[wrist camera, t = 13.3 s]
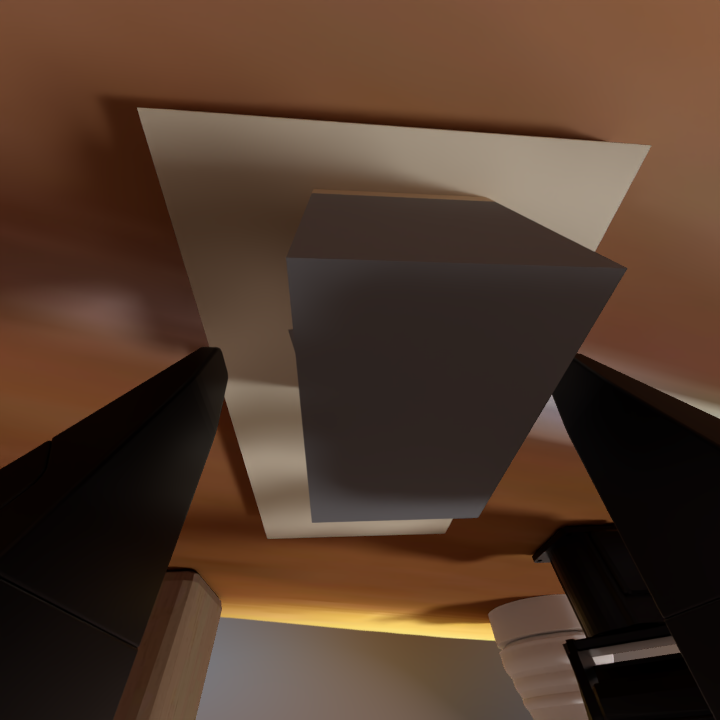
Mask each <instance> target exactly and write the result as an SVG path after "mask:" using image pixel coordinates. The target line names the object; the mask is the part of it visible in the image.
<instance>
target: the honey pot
mask: <svg viewBox="0 0 720 720" xmlns="http://www.w3.org/2000/svg"><path fill="white" fill-rule="evenodd" d="M488 617H489V620H490V623H491V627H492V630H493V633H494V637H495V640H496V644H497V647H498V648H500V649H503V650H502V651H500V656H501V658H502V663H503V666H504V668H505V670H506V672H507V673H508V674H509V676H510V677H511V678H512V680H513V682H514V685H515V688H516V690H517V691H518V692H519V694H520V695H521V697H522V699H523V704H524V706H525V708H526V709H527V710H529V712H530V713H531V715H532V717H533V719H534V720H589V719H588V716H587V713H586V709H585V706H584V703H583V699H582V696H581V693H580V689H579V686H578V683H577V680H576V677H575V674H574V671H573V669H572V666H571V664H570V661H569V659H568V656H567V654H566V652H565V649H564V647H563V645H562V644H565V643H566V640H567V639H575V640H577V639H583V638H586V636H585V634H584V632H583V630H582V628H581V626H580V624H579V621H578V619H577V617H576V615H575V613H574V611H573V609H572V607H571V605H570V602H569V600H568V598H567V596H566V594H557V595H544V596H538V597H531V598H526V599H522V600H517V601H514V602H510V603H507V604H504V605H501V606H499V607H496V608H495V609H493V610H492V611H490V612H489V614H488ZM592 658H593V660H594V662H595V664H596V665H601V664H608V663H614V656H613V654H610V655H604V656H597V657H592Z"/></svg>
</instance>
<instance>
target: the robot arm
mask: <svg viewBox="0 0 720 720" xmlns="http://www.w3.org/2000/svg"><path fill="white" fill-rule="evenodd" d="M227 382H228V371H227V368H226V364H225V360H224V357H223V353H222V351H221V349H220V348H218V347H201V348H199V349H198V350H196V351H194V352H193V353H191V354H190V355H188V356H186V357H185V358H183V359H181V360H180V361H178V362H176V363H175V364H173V365H171V366H170V367H168V368H167V369H165V370H163V371H162V372H160V373H158V374H157V375H155V376H153V377H152V378H150V379H148V380H147V381H145V382H144V383H142V384H140V385H139V386H137V387H135V388H134V389H132V390H130V391H129V392H127V393H126V394H124V395H122V396H121V397H119V398H117V399H116V400H114V401H112V402H111V403H109V404H107V405H106V406H104V407H102V408H101V409H99V410H98V411H96V412H94V413H93V414H91V415H89V416H88V417H86V418H84V419H83V420H81V421H79V422H78V423H76V424H75V425H73V426H71V427H70V428H68V429H66V430H65V431H63V432H61V433H60V434H58V435H56V436H55V437H53V438H52V441H46V442H45V443H43V444H42V445H40V446H38V447H37V448H35V449H33V450H32V451H30V452H29V453H27V454H25V455H24V456H22V457H20V458H18V459H17V460H15V461H13V462H12V463H10V464H8V465H7V466H5V467H3V468H2V469H0V720H113V719H114V716H115V713H116V710H117V708H118V705H119V702H120V699H121V696H122V694H123V691H124V688H125V685H126V683H127V680H128V677H129V674H130V672H131V669H132V666H133V663H134V660H135V658H136V655H137V652H138V647H139V645H140V643H141V640H142V637H143V635H144V632H145V629H146V626H147V624H148V621H149V618H150V615H151V612H152V610H153V607H154V604H155V601H156V599H157V596H158V593H159V590H160V587H161V585H162V582H163V579H164V576H165V574H166V571H167V568H168V565H169V562H170V560H171V557H172V554H173V551H174V549H175V546H176V543H177V540H178V538H179V535H180V532H181V529H182V526H183V524H184V521H185V518H186V515H187V513H188V510H189V507H190V504H191V501H192V499H193V496H194V493H195V490H196V488H197V485H198V482H199V479H200V476H201V474H202V471H203V468H204V465H205V463H206V460H207V457H208V454H209V451H210V449H211V446H212V443H213V440H214V437H215V434H216V430H217V427H218V422H219V418H220V413H221V409H222V405H223V400H224V396H225V391H226V387H227ZM552 396H553V398H554V401H555V403H556V406H557V408H558V411H559V413H560V416H561V418H562V421H563V424H564V426H565V428H566V431H567V433H568V435H569V437H570V439H571V441H572V443H573V445H574V447H575V449H576V451H577V453H578V455H579V457H580V458H581V460H582V462H583V464H584V466H585V468H586V470H587V472H588V474H589V476H590V478H591V480H592V482H593V484H594V485H595V487H596V489H597V491H598V493H599V495H600V497H601V499H602V501H603V503H604V505H605V507H606V509H607V511H608V513H609V514H610V516H611V518H612V520H613V522H614V524H615V526H585V527H565V528H562V529H560V530H559V531H558V532H557V533H556V534H555V535H554V536H553V537H552V538H551V539H550V540H549V541H548V542H547V543H546V544H545V545H544V546H542V547H541V548H540V549H539V550H538V551H537V552H536V553H535V554H534V555H533V556H532V558H533V560H534V562H535V563H544V562H551V564H552V566H553V569H554V571H555V573H556V575H557V577H558V579H559V581H560V583H561V585H562V588H563V590H564V592H565V594H566V596H567V598H568V600H569V602H570V605H571V607H572V609H573V611H574V613H575V615H576V617H577V619H578V621H579V624H580V626H581V628H582V630H583V632H584V634H585V636H586V638H583V639H577V640H575V639H567V640H566V643H565V644H562V645H563V647H564V649H565V652H566V654H567V656H568V659H569V661H570V664H571V666H572V669H573V671H574V674H575V677H576V680H577V683H578V686H579V689H580V693H581V696H582V699H583V703H584V706H585V709H586V713H587V716H588V719H589V720H720V419H719V418H717V417H715V416H712V415H710V414H708V413H706V412H704V411H702V410H700V409H697V408H695V407H693V406H691V405H689V404H687V403H685V402H683V401H680V400H678V399H676V398H674V397H672V396H670V395H668V394H665V393H663V392H661V391H659V390H657V389H655V388H653V387H650V386H648V385H646V384H644V383H642V382H640V381H638V380H635V379H633V378H631V377H629V376H627V375H625V374H623V373H621V372H618V371H616V370H614V369H612V368H610V367H608V366H606V365H603V364H601V363H599V362H597V361H595V360H593V359H591V358H588V357H586V356H584V355H582V354H578V353H576V355H575V357H574V358H573V360H572V362H571V363H570V365H569V367H568V368H567V370H566V372H565V373H564V375H563V377H562V378H561V380H560V382H559V383H558V385H557V387H556V388H555V390H554V392H553V393H552ZM673 644H677V646H678V648H679V650H680V652H681V653H675V654H669V655H662V656H655V657H648V658H642V659H635V660H628V661H621V662H615V663H608V664H601V665H596V664H595V662H594V660H593V658H592V657H597V656H604V655H610V654H616V653H623V652H629V651H635V650H642V649H648V648H654V647H661V646H667V645H673Z"/></svg>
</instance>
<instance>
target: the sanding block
mask: <svg viewBox="0 0 720 720" xmlns="http://www.w3.org/2000/svg"><path fill="white" fill-rule="evenodd" d="M286 263H287V273H288V283H289V293H290V304H291V314H292V324H293V334H294V345H295V355H296V365H297V375H298V386H299V396H300V406H301V416H302V427H303V437H304V447H305V457H306V468H307V478H308V488H309V498H310V509H311V519H312V523H323V522H356V521H389V520H422V519H456V518H478V517H479V515H480V514H481V512H482V510H483V509H484V507H485V505H486V504H487V502H488V500H489V499H490V497H491V495H492V494H493V492H494V490H495V489H496V487H497V485H498V484H499V482H500V480H501V479H502V477H503V475H504V474H505V472H506V470H507V469H508V467H509V465H510V464H511V462H512V460H513V459H514V457H515V455H516V454H517V452H518V450H519V448H520V447H521V445H522V443H523V442H524V440H525V438H526V437H527V435H528V433H529V432H530V430H531V428H532V427H533V425H534V423H535V422H536V420H537V418H538V417H539V415H540V413H541V412H542V410H543V408H544V407H545V405H546V403H547V402H548V400H549V398H550V397H551V395H552V393H553V392H554V390H555V388H556V387H557V385H558V383H559V382H560V380H561V378H562V377H563V375H564V373H565V372H566V370H567V368H568V367H569V365H570V363H571V362H572V360H573V358H574V357H575V355H576V353H577V352H578V350H579V348H580V347H581V345H582V343H583V342H584V340H585V338H586V337H587V335H588V333H589V332H590V330H591V328H592V327H593V325H594V323H595V322H596V320H597V318H598V317H599V315H600V313H601V312H602V310H603V308H604V307H605V305H606V303H607V302H608V300H609V298H610V296H611V295H612V293H613V291H614V290H615V288H616V286H617V285H618V283H619V281H620V280H621V278H622V276H623V275H624V273H625V271H626V270H627V268H626V267H624V266H622V265H620V264H618V263H616V262H614V261H612V260H610V259H608V258H606V257H604V256H602V255H600V254H598V253H596V252H594V251H592V250H590V249H588V248H586V247H584V246H582V245H580V244H578V243H576V242H574V241H572V240H570V239H568V238H566V237H564V236H562V235H560V234H558V233H556V232H554V231H552V230H550V229H548V228H546V227H544V226H542V225H541V224H539V223H537V222H535V221H533V220H531V219H529V218H527V217H525V216H523V215H521V214H519V213H517V212H515V211H513V210H511V209H509V208H507V207H505V206H503V205H501V204H499V203H497V202H495V201H493V200H491V199H489V198H487V197H475V196H454V195H433V194H412V193H391V192H370V191H349V190H329V189H313V191H312V194H311V196H310V199H309V201H308V204H307V206H306V209H305V211H304V214H303V216H302V219H301V221H300V224H299V226H298V229H297V231H296V234H295V236H294V239H293V241H292V244H291V246H290V249H289V251H288V254H287V256H286Z"/></svg>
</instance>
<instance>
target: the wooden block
mask: <svg viewBox="0 0 720 720" xmlns="http://www.w3.org/2000/svg"><path fill="white" fill-rule="evenodd" d="M221 611H222V607H221V601H220V599H219V598H218V597H217V596H216V595H215V593H214V592H213V591H212V590H211V589H210V587H209V586H208V585H207V584H206V583H205V581H204V580H203V579H202V578H201V577H200V575H199V574H197V573H195V572H193V571H169V572H166V574H165V576H164V579H163V582H162V585H161V587H160V590H159V593H158V596H157V599H156V601H155V604H154V607H153V610H152V612H151V615H150V618H149V621H148V624H147V626H146V629H145V632H144V635H143V637H142V640H141V643H140V645H139V647H138V652H137V655H136V658H135V660H134V663H133V666H132V669H131V672H130V674H129V677H128V680H127V683H126V685H125V688H124V691H123V694H122V696H121V699H120V702H119V705H118V708H117V710H116V713H115V716H114V719H113V720H195V719H196V715H197V710H198V706H199V702H200V698H201V694H202V690H203V685H204V681H205V677H206V673H207V669H208V665H209V660H210V656H211V652H212V648H213V644H214V640H215V636H216V631H217V627H218V623H219V619H220V615H221Z"/></svg>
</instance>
